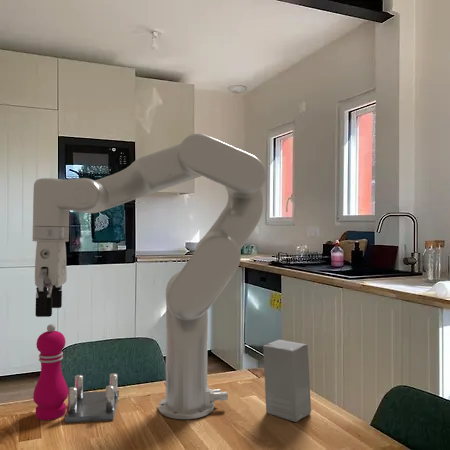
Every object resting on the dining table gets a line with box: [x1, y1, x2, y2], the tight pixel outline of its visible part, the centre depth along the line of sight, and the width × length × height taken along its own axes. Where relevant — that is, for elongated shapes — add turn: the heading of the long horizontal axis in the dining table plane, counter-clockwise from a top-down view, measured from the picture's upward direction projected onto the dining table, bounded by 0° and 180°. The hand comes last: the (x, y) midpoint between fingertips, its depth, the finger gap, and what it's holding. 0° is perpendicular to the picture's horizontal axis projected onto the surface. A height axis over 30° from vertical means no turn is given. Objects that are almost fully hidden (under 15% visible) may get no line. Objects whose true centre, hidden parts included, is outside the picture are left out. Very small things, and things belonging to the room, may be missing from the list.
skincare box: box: [262, 339, 312, 423], centre depth 101 cm, size 8×7×16 cm
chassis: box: [64, 373, 120, 424], centre depth 103 cm, size 10×14×6 cm
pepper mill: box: [32, 323, 69, 421], centre depth 100 cm, size 7×7×20 cm
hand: (49, 311), depth 100 cm, fingers open, 9 cm apart
